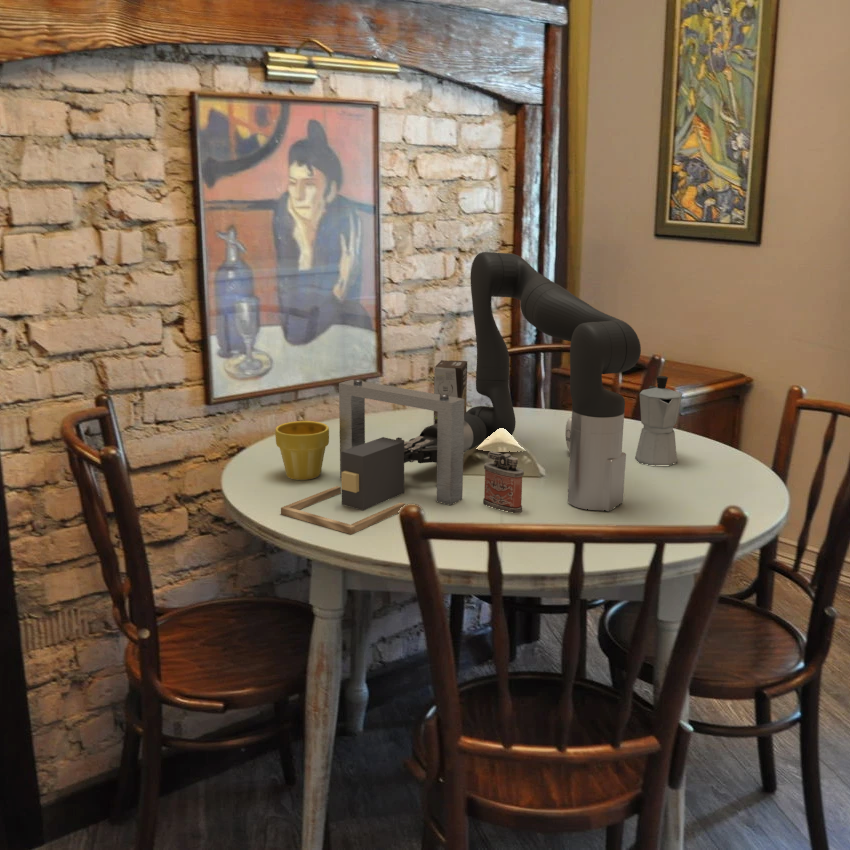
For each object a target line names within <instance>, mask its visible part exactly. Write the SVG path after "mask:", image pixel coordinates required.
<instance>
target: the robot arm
mask: <svg viewBox="0 0 850 850" xmlns="http://www.w3.org/2000/svg"><path fill="white" fill-rule="evenodd" d="M469 279H470V293H471V302H472V312H473V313H472V314H473V321H474V330H475V341H476V342H475V343H476V371H475V373H476V374H475V391H476V392H477V393H478V394H479V395H482V396H485V397H487V398H489V400H490V402H491V404H492V406H487V405H486V406H484V405H478V406H474V407H471V408H469V409H468V410H466V413H465V414H464V444H463V454H464V453H465V452H467V451H469V450H472V449H475V448H476V447H478V446H480V445H481V444H482V443H484V441H485V440H487V439H486V438H487V437H488V436H490V435H491V434H492V433H493V432H495V431H496V430H497V429H499V428H504V429H506V430H507V431H508V432H509V433H510V434H511V435H514V432H515V429H516V425H517V424H516V423H517V422H516V414H515V410H514V407H513V403H512V397H511V392H510V387H509V386H510V363H511V362H510V354H509V350H508V346H507V344H506V342H505V340H504V338H503V336H502V333H501V331H500V330H499V327H498V325H497V323H496V320H495V318H494V314H493V308H492V300H493V299H492V297H496V298H512V299H515V300H519V301H520V302H519V303H520V311H521V313H522V315H523V318H524V319H525V320H526V321H527V322H528V323H530V324H531V326H533V327H534V328H536V329H537V330H538V331H540V332H542V333H543V334H545V335H547V336H549V337H551V338H552V337H553V338H554V339H559V340H562V341H566V342H570V347H569V369H570V371H569V374H570V376H569V377H570V379H569V391H570V396H571V401H572V402H571V404H572V405H571V407H572V408H571V417H572V422H571V441H570V452H569V460H568V461H569V463H568V466H569V467H568V486H567V503H568V504H570V505H571V506H573V507H575V508H579V509H583V510H587V509H588V510H587V511H604V510H606V511H605V512H610V511H612V510H613V508H614V507H615V508H617V507H618V506H620V505H621V504H620V503H622V502H623V503H624V489H625V476H626V459H627V454H626V452H623V435H624V421H625V420H624V419H625V409H626V401H625V397H624V396H623V395H622V394H620V393H618V392H615V391H611V390H609V389H606V388H604V386H603V375H610V374H618V373H619V374H620V373H624V372H626V371H629V370H631V369H632V368H634V367H635V366H636V364H637V363H638V362H639V360H640V358H641V353H642V352H641V350H642V347H641V346H642V345H641V342H640V338H639V336H638V334H637V333H636V331H635V330H634V328H633V327H632V325H630V324H629V323H627V322H626V321H623V320H621V319H620V318H616V317H614V316H612V315H609V314H607V313H605V312H603V311H600V310H599V309H596V308H595V307H594V306H592V305H590V304H589V303H587V302H586V301H584V300H582V299H581V298H579V297H577V296H575V294H573V293H572V292H570V291H569V290H567V289H566V288H564V287H563V286H561V285H560V284H558V283H556V282H554V281H553V280H551V279H549V278H548V277H546V276H544V275H543V274H541V273H540V272H538V271H537V270H536V269H535V268H534V267H533V266H532V265H531V264H529V263H528V262H527V261H526V260H525V259H524V258H522V257H521V256H520V255H517V254H515V253H511V252H508V253H507V252H506V253H505V252H493V251H492V252H491V251H482V252H479V253H477V254H476V255H475V256H474V259H473V260H472V262H471V267H470V278H469ZM437 428H438V423H437V424H434V423H433V424H432V425H429V426H427V427H424V429H422V431H421V432H420V434H419V435H418V436H416V437H413V438H409V440H408V441H405V439H402V437H395V440H399V441H404V464H405V463H414V462H417V463H419V464H427V463H429V464H430V463H434V464H435V463H436V464H437ZM623 503H622V504H623ZM619 504H620V505H619ZM617 505H618V506H617ZM616 506H617V507H616ZM615 508H614V509H615ZM611 509H612V510H611ZM609 510H610V511H609Z"/></svg>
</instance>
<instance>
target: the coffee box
mask: <svg viewBox="0 0 850 850" xmlns="http://www.w3.org/2000/svg"><path fill="white" fill-rule="evenodd" d="M433 378H434V380H433V386H434V387H433V394H439V395H441V394H447V395H449V396H450V397H456V398H462V399H464V414H465V413H466V412H467V404H468V403H467V401H468V400H467V394H468V361H467V360H445V359H444V360H443V359H442V360H440V361H439V362H438V363H437V364H436V365H435V366H434V377H433ZM437 423H438V412H437V411H433V425H434V424H437Z"/></svg>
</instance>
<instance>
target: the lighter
mask: <svg viewBox="0 0 850 850" xmlns="http://www.w3.org/2000/svg"><path fill="white" fill-rule="evenodd" d="M487 454H488V455H487V459H489V460H492V461H488V462H485V463H484V464H483V469H484V490H483V491H484V495H483V496H484V497H483V499H482V504H483V505H484V506H486V505H487V507H488V506H490V507H489V508H491V507H493V508H492V509H494V508H496V509H495V510H497V509H500V510H499V511H501V510H504V511H503V512H505V511H508V512H507V513H509V512H513V513H512V514H520V513H522V512H523V505H522V498H523V497H522V496H523V495H522V494H523V493H522V492H523V476H524V473H525V472H524V469H522V468H519V467H518V464H519V463H518V462H519V461H518V460H519V459H518V457H513V456H512V455H511V454H510V453H509V452H508V453H504V454H503V453H501V452H497V451H493V450H490V451H489V452H488V453H487ZM519 512H520V513H519Z"/></svg>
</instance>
